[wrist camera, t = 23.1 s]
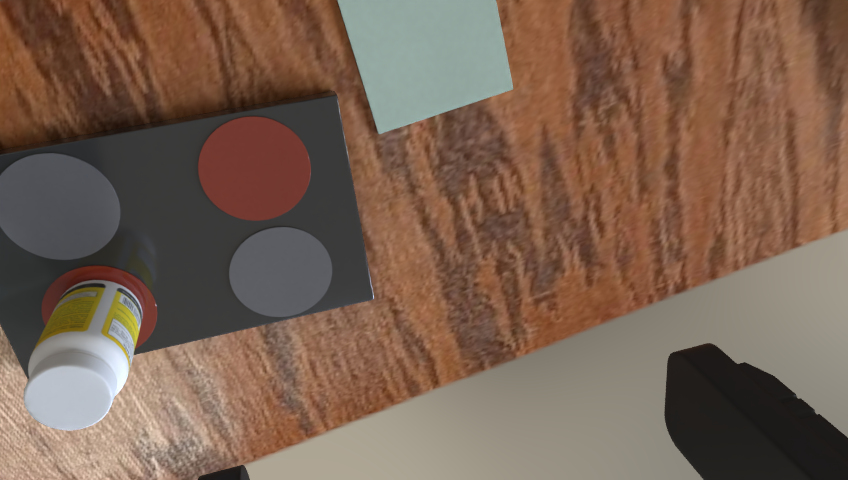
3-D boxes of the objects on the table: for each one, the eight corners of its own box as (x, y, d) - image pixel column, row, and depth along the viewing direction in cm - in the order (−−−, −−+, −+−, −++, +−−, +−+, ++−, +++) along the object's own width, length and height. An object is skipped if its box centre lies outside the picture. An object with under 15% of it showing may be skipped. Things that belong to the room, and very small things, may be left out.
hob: (-68, 161, 35) (-78, 169, 34) (334, 90, 39) (337, 95, 37) (33, 368, 41) (27, 381, 40) (371, 291, 45) (374, 300, 44)
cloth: (331, -17, 36) (332, -16, 36) (482, -63, 37) (483, -63, 37) (378, 133, 40) (378, 134, 40) (512, 88, 41) (513, 89, 41)
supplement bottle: (46, 330, 39) (-2, 422, 32) (73, 266, 38) (31, 346, 30) (127, 354, 41) (100, 446, 34) (156, 293, 40) (135, 375, 32)
